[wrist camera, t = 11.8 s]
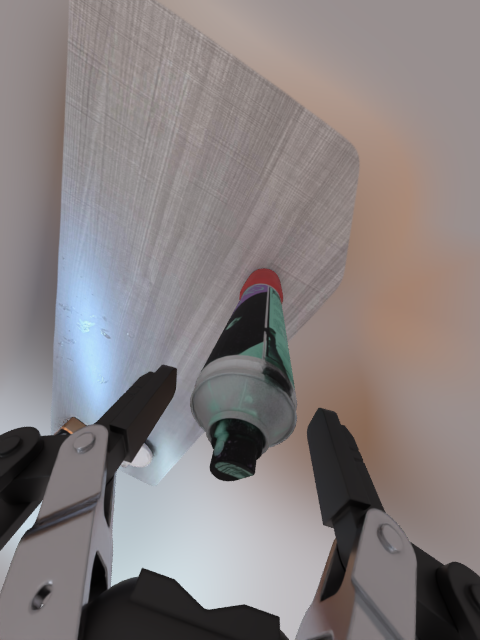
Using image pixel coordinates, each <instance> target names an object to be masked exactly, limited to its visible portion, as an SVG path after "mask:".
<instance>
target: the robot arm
mask: <svg viewBox="0 0 480 640" xmlns="http://www.w3.org/2000/svg"><path fill="white" fill-rule="evenodd" d="M176 378H177V369H176V368H174V367H170V366H167V365H162V366H160V368H159V369H158V370H157V371H156V372H155V373H154V372H148V373H147V374H145V375H143V376H141V377H140V378H139V379H138V380H137V381H136V382H135V383H134V384H133V386H131V387H130V388H129V389H128V390H127V391H126V393H124V394H123V395H122V396H121V397H120V398H119V400H118V401H117V402H116V403H115V404H114V405H113V406H112V407H111V408H110V409H109V410H108V411H107V412H106V413H105V414H104V415H103V416H102V417H101V418H100V419H99V420H98V421H97V422H96V423H94V424H93V425H88V426H85V427H83V428H80V429H79V430H77V431H75V432H74V433H72V434H66V435H50V436H41V435H40V433H39V431H38V430H37V429H36V428H34V427H21V428H17V429H14V430H11V431H8V432H6V433H4V434H2V435H0V550H1V549H2V548H3V547H4V546H5V545H6V543H7V542H8V541H9V540H10V538H11V537H12V536H13V535H14V534H15V533H16V531H17V530H18V529H19V528H20V527H21V525H22V524H23V523H24V522H25V521H26V519H27V518H28V517H29V516H30V515H31V514H32V512H33V511H34V510H35V509H36V508H37V506H38V505H39V504H40V503H41V501H42V500H43V501H42V505H41V508H40V511H39V514H38V517H37V519H36V522H35V524H34V525H33V527H32V528H30V529H29V530H27V531H26V532H25V534H24V535H23V537H22V538H21V540H20V542H19V544H18V546H17V548H16V551H15V553H14V556H13V559H12V562H11V565H10V567H9V570H8V573H7V576H6V579H5V582H4V584H3V587H2V590H1V593H0V640H289V639H288V638H287V637H286V636H285V634H284V633H283V632H282V631H281V630H280V618H279V617H278V616H275V615H273V614H269V613H267V612H264V611H261V610H258V609H256V608H253V607H250V606H247V605H238V606H230V607H224V608H217V609H211V610H207V609H204V608H203V607H202V606H201V605H200V604H199V603H198V602H197V601H196V600H195V599H194V598H193V597H192V596H191V595H190V594H189V593H188V592H187V591H186V590H185V589H184V588H183V587H181V585H180V584H179V583H178V582H177V581H176V580H175V579H172V578H169V577H166V576H164V575H161V574H158V573H155V572H152V571H150V570H147V569H144V568H142V569H141V572H140V574H139V577H134V578H130V579H127V580H124V581H122V582H120V583H118V584H116V585H114V586H112V587H111V574H112V573H111V572H112V557H113V540H112V526H113V511H114V497H115V483H116V471H117V469H118V468H119V466H120V465H121V463H122V462H123V461H126V462H129V463H132V461H133V460H134V458H135V456H136V455H137V453H138V452H139V450H140V449H141V447H142V445H143V444H144V442H145V441H146V439H147V437H148V436H149V434H150V433H151V431H152V430H153V428H154V426H155V425H156V423H157V422H158V420H159V419H160V417H161V415H162V414H163V412H164V411H165V409H166V408H167V406H168V404H169V403H170V401H171V400H172V398H173V396H174V393H175V390H176ZM307 439H308V444H309V449H310V455H311V461H312V466H313V471H314V477H315V483H316V488H317V493H318V499H319V504H320V510H321V515H322V521H323V525H325V526H328V527H331V528H334V531H335V536H336V538H335V540H334V542H333V545H332V547H331V550H330V553H329V556H328V559H327V562H326V565H325V568H324V571H323V574H322V577H321V580H320V583H319V586H318V589H317V592H316V594H315V597H314V599H313V602H312V604H311V605H310V607H309V608H308V610H307V611H306V613H305V616H304V617H303V619H302V622H301V624H300V627H299V629H298V633H297V635H296V638H295V640H480V577H479V576H478V575H477V574H476V573H475V572H474V571H472V570H471V569H470V568H468V567H467V566H465V565H463V564H461V563H458V562H451V563H449V564H447V565H443V564H442V563H440V562H439V561H437V560H436V559H435V558H433V557H432V556H430V555H429V554H427V553H426V552H424V551H423V550H421V549H420V548H418V547H417V546H415V545H414V544H412V543H411V542H410V541H409V539H408V537H407V536H406V534H405V533H404V531H403V530H402V528H401V527H400V526H399V525H398V524H397V522H395V521H394V520H393V518H391V517H390V516H389V515H388V514H386V512H385V511H384V508H383V506H382V504H381V502H380V499H379V497H378V494H377V492H376V490H375V487H374V485H373V482H372V480H371V478H370V475H369V473H368V471H367V468H366V466H365V463H363V459H362V456H361V454H360V452H359V451H358V447H357V444H356V442H355V440H354V437H353V436H352V435H351V433H350V432H349V431H348V429H347V428H346V427H345V426H344V425H341V424H340V421H339V419H338V416H337V414H336V413H335V412H334V411H330V410H326V409H322V408H318V410H317V411H316V413H315V415H314V416H313V418H312V420H311V422H310V424H309V426H308V429H307ZM41 604H43V606H42V607H41ZM40 607H41V608H40Z"/></svg>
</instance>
